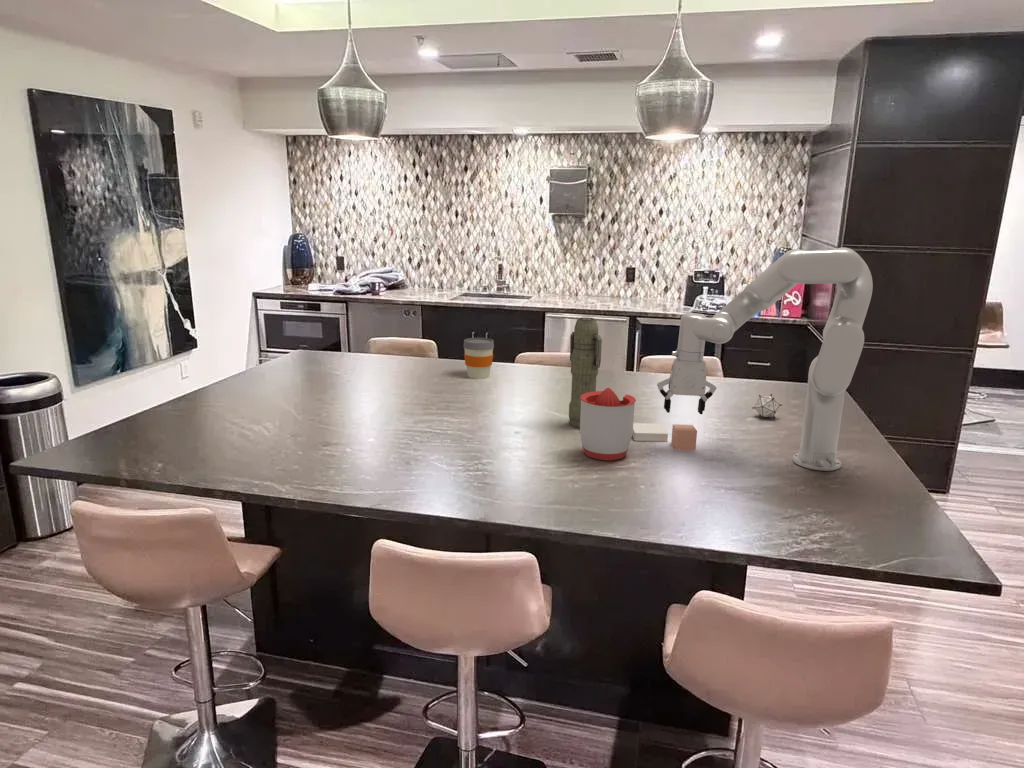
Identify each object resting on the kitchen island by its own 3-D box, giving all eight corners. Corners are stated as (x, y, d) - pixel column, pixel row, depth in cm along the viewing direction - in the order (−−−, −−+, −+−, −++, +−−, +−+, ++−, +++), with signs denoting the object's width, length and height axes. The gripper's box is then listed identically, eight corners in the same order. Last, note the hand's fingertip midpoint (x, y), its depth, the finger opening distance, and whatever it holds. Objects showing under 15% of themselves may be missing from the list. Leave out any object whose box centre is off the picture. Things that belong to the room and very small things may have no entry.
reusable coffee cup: (499, 375, 295) (500, 339, 292) (482, 381, 285) (482, 344, 281) (474, 371, 302) (475, 336, 298) (457, 376, 292) (457, 341, 288)
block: (667, 441, 217) (667, 433, 216) (634, 440, 217) (635, 433, 216) (661, 431, 227) (661, 423, 226) (629, 430, 227) (630, 423, 226)
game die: (769, 429, 243) (784, 412, 235) (746, 419, 244) (760, 401, 236) (773, 411, 249) (787, 393, 241) (750, 401, 250) (763, 383, 242)
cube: (695, 450, 210) (697, 431, 209) (675, 449, 210) (676, 430, 209) (690, 443, 216) (692, 424, 214) (671, 443, 216) (672, 424, 215)
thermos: (575, 418, 239) (579, 314, 230) (604, 425, 231) (610, 319, 223) (559, 423, 232) (563, 317, 224) (589, 431, 225) (594, 322, 216)
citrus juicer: (642, 450, 209) (646, 384, 204) (619, 468, 195) (624, 397, 190) (593, 440, 217) (596, 377, 212) (568, 457, 202) (571, 389, 197)
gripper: (662, 357, 203) (656, 414, 207) (723, 360, 202) (716, 417, 207) (657, 351, 210) (652, 407, 214) (716, 354, 210) (709, 409, 214)
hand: (683, 412), depth 211 cm, fingers open, 9 cm apart
